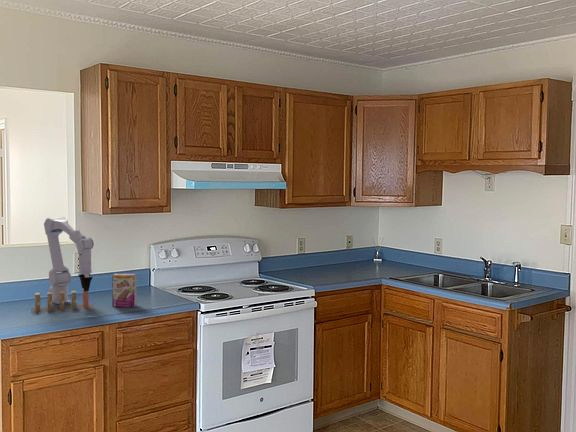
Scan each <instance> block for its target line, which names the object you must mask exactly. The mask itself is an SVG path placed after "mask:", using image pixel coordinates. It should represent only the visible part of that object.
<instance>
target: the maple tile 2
mask: <svg viewBox="0 0 576 432" xmlns="http://www.w3.org/2000/svg"><path fill="white" fill-rule="evenodd" d="M46 299H47V307H48V310H52V306H53V303H52V292H49V291H47V298H46Z"/></svg>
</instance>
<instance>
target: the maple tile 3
mask: <svg viewBox="0 0 576 432" xmlns="http://www.w3.org/2000/svg"><path fill="white" fill-rule="evenodd" d="M59 306H60V310H61V309H64V306H65V303H64V291H60V304H59Z"/></svg>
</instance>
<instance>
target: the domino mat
mask: <svg viewBox="0 0 576 432" xmlns="http://www.w3.org/2000/svg"><path fill="white" fill-rule="evenodd" d="M88 304H89V308H84V307H83V303H82V304H76V309H72V304H70V305H64V309H61V310H60V305H54V306H53V305H52V310H48V306H40V311H35V306H34V307H31V310H30V312H29V313H30V314H38V313H40V314H41V313H50V312H51V313H54V312H56V313H57V312H66V311H70V312H71V311H85V310H95V303H88Z"/></svg>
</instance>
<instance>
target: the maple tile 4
mask: <svg viewBox="0 0 576 432" xmlns="http://www.w3.org/2000/svg"><path fill="white" fill-rule="evenodd" d="M71 305H72V309H76V305H77V291H76V290H71Z"/></svg>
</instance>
